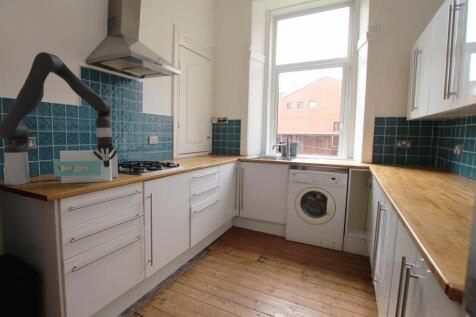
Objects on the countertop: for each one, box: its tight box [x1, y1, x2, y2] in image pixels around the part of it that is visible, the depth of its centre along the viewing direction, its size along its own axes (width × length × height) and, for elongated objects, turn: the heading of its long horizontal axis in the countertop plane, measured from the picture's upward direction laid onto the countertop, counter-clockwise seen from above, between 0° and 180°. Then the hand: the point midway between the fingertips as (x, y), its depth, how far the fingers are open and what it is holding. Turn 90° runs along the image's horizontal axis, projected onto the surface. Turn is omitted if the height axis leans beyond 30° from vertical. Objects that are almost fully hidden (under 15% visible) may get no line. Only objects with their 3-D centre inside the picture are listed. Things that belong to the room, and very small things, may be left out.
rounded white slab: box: [95, 147, 119, 179], centre depth 161 cm, size 29×8×18 cm, turn 44°
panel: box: [53, 160, 102, 177], centre depth 131 cm, size 22×1×8 cm, turn 108°
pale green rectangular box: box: [59, 150, 113, 184], centre depth 136 cm, size 25×13×18 cm, turn 108°
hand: (106, 167), depth 136 cm, fingers closed
